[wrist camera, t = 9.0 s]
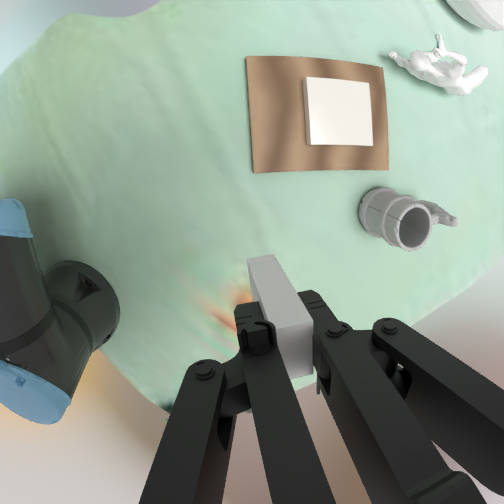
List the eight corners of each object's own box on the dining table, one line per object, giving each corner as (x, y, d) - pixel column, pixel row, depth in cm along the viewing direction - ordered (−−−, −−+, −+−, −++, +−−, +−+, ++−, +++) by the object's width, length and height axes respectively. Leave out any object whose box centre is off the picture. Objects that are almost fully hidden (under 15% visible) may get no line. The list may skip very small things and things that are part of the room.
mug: (353, 191, 39) (398, 209, 28) (414, 177, 40) (465, 191, 28) (359, 239, 42) (401, 270, 31) (417, 221, 42) (464, 245, 31)
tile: (310, 144, 33) (372, 146, 34) (306, 76, 30) (368, 83, 31) (306, 144, 35) (366, 145, 36) (302, 80, 32) (362, 85, 33)
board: (253, 172, 37) (254, 173, 36) (245, 58, 31) (246, 56, 30) (384, 169, 39) (388, 170, 38) (378, 69, 33) (382, 67, 32)
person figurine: (485, 30, 21) (449, 48, 20) (503, 98, 28) (472, 137, 27) (427, 31, 32) (376, 53, 31) (448, 90, 39) (404, 125, 38)
